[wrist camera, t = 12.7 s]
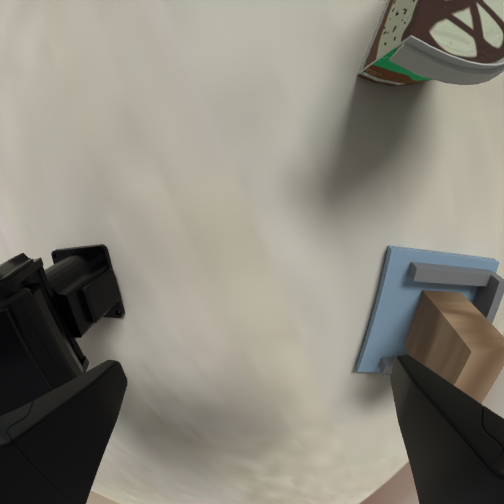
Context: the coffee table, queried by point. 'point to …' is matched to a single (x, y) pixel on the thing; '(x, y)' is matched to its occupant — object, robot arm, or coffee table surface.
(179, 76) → the coffee table surface
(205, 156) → the coffee table surface
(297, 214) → the coffee table surface
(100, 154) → the coffee table surface
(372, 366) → the cradle
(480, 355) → the walnut block
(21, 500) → the robot arm
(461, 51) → the food container
